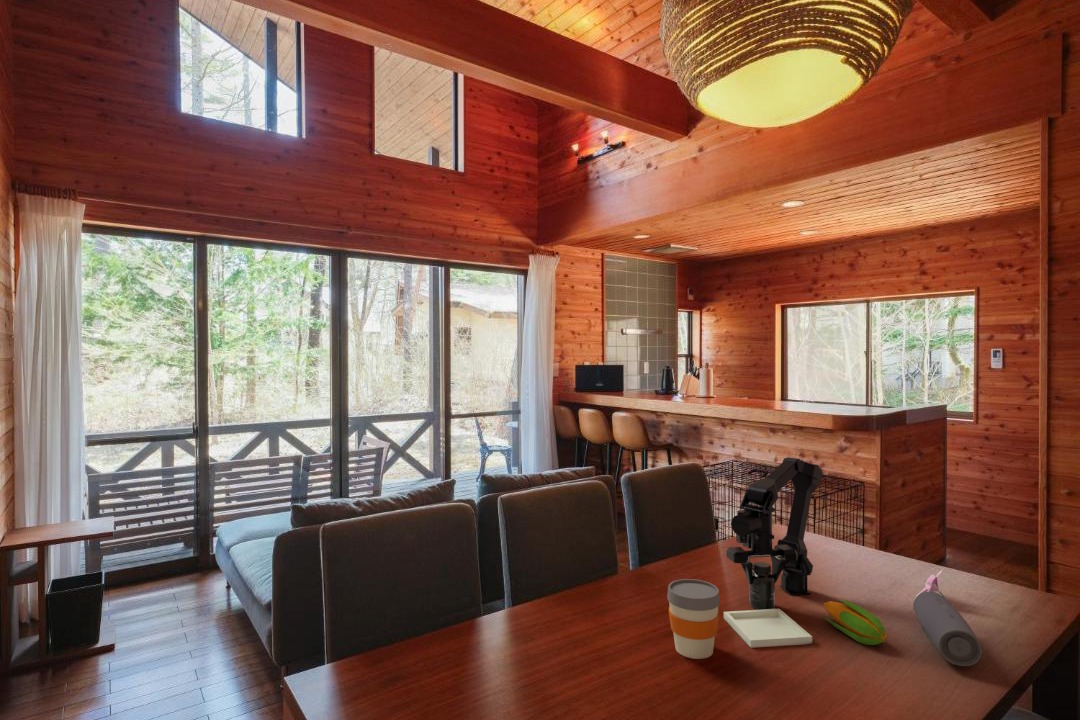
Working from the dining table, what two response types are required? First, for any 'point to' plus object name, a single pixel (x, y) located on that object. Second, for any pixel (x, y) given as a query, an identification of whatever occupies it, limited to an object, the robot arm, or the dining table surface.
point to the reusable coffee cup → (693, 616)
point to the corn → (856, 622)
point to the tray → (767, 628)
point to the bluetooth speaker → (947, 629)
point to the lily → (932, 584)
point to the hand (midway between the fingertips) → (761, 583)
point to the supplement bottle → (762, 587)
